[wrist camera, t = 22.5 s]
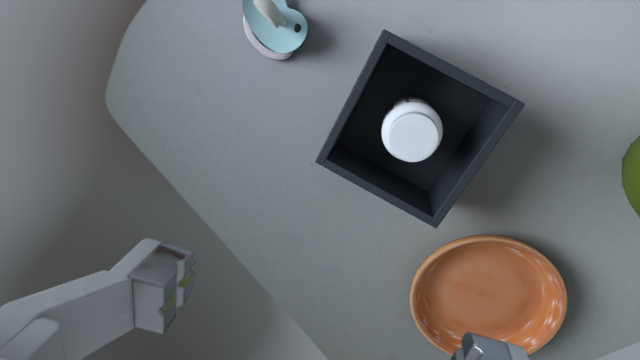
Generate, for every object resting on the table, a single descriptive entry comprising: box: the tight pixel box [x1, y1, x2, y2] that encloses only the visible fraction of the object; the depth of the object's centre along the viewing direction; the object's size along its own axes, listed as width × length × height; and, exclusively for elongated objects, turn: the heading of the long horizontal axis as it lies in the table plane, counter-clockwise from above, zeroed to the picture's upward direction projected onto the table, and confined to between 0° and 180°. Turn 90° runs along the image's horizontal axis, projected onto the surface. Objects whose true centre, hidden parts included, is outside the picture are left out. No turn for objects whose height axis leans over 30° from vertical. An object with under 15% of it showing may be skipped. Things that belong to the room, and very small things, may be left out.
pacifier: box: [243, 0, 308, 60], centre depth 36 cm, size 7×6×6 cm
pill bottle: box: [381, 96, 443, 162], centre depth 34 cm, size 5×5×9 cm
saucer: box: [410, 235, 567, 355], centre depth 41 cm, size 16×16×3 cm
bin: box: [315, 29, 525, 228], centre depth 35 cm, size 13×13×8 cm
